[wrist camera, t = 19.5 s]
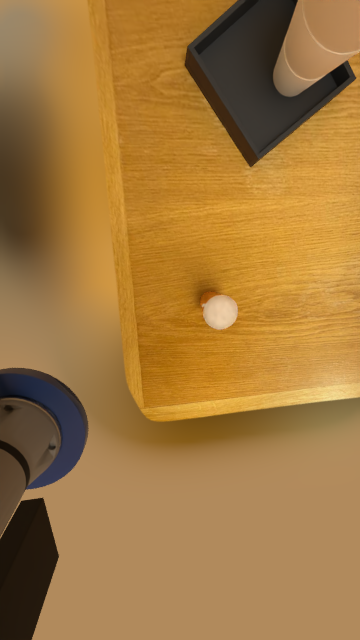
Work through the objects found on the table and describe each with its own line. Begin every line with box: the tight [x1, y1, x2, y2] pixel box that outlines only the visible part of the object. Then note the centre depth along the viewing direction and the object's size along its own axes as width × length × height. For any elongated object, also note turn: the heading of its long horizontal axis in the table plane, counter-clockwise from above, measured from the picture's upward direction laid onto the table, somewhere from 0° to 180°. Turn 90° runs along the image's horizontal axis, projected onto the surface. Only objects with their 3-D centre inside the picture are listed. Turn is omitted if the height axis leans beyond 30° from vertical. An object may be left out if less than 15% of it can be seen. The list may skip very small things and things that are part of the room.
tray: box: [185, 0, 356, 167], centre depth 36 cm, size 15×15×4 cm
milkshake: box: [200, 291, 238, 330], centre depth 39 cm, size 4×5×10 cm
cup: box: [273, 0, 360, 97], centre depth 28 cm, size 11×11×18 cm
